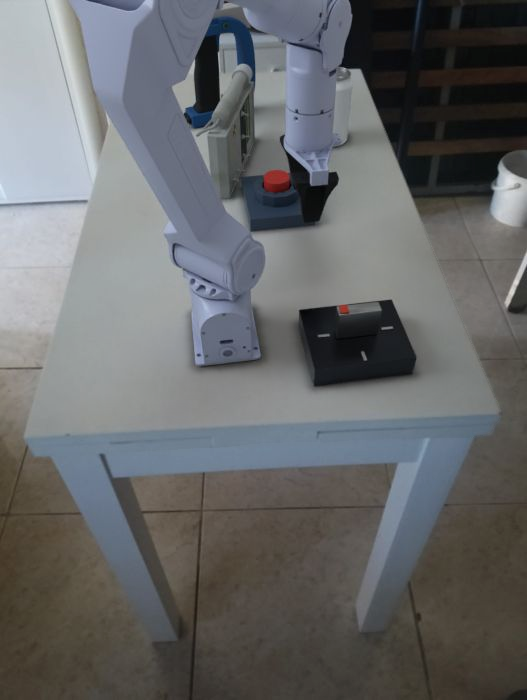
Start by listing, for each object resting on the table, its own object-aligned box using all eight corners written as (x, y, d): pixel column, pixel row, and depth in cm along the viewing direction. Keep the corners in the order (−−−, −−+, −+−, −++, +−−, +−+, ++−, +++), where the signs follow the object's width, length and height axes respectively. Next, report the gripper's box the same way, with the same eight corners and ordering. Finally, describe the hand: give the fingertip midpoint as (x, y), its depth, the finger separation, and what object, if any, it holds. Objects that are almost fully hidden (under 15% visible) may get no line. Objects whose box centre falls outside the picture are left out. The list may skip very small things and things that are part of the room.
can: (345, 149, 103) (352, 82, 94) (310, 147, 104) (313, 80, 95) (348, 132, 107) (354, 66, 98) (313, 130, 108) (317, 64, 99)
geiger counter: (231, 117, 82) (265, 50, 99) (189, 113, 83) (230, 47, 100) (236, 200, 93) (266, 127, 109) (198, 196, 94) (234, 124, 110)
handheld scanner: (173, 121, 111) (158, 10, 96) (248, 104, 116) (245, -5, 101) (180, 131, 109) (167, 19, 94) (257, 114, 113) (256, 3, 98)
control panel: (388, 315, 75) (392, 298, 72) (412, 374, 68) (417, 356, 66) (298, 326, 74) (298, 308, 71) (313, 386, 67) (314, 369, 65)
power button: (291, 192, 88) (291, 182, 86) (265, 195, 87) (265, 184, 86) (287, 178, 90) (287, 168, 89) (262, 180, 90) (262, 170, 89)
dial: (374, 325, 69) (378, 299, 66) (377, 334, 68) (382, 308, 65) (333, 330, 69) (336, 304, 66) (336, 339, 68) (339, 313, 65)
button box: (314, 225, 88) (316, 203, 85) (250, 231, 87) (249, 209, 84) (300, 183, 96) (301, 161, 93) (241, 188, 95) (240, 167, 92)
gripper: (358, 131, 62) (347, 233, 72) (330, 75, 72) (324, 172, 82) (294, 136, 62) (292, 238, 72) (275, 79, 71) (275, 176, 81)
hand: (305, 203), depth 77 cm, fingers open, 7 cm apart
